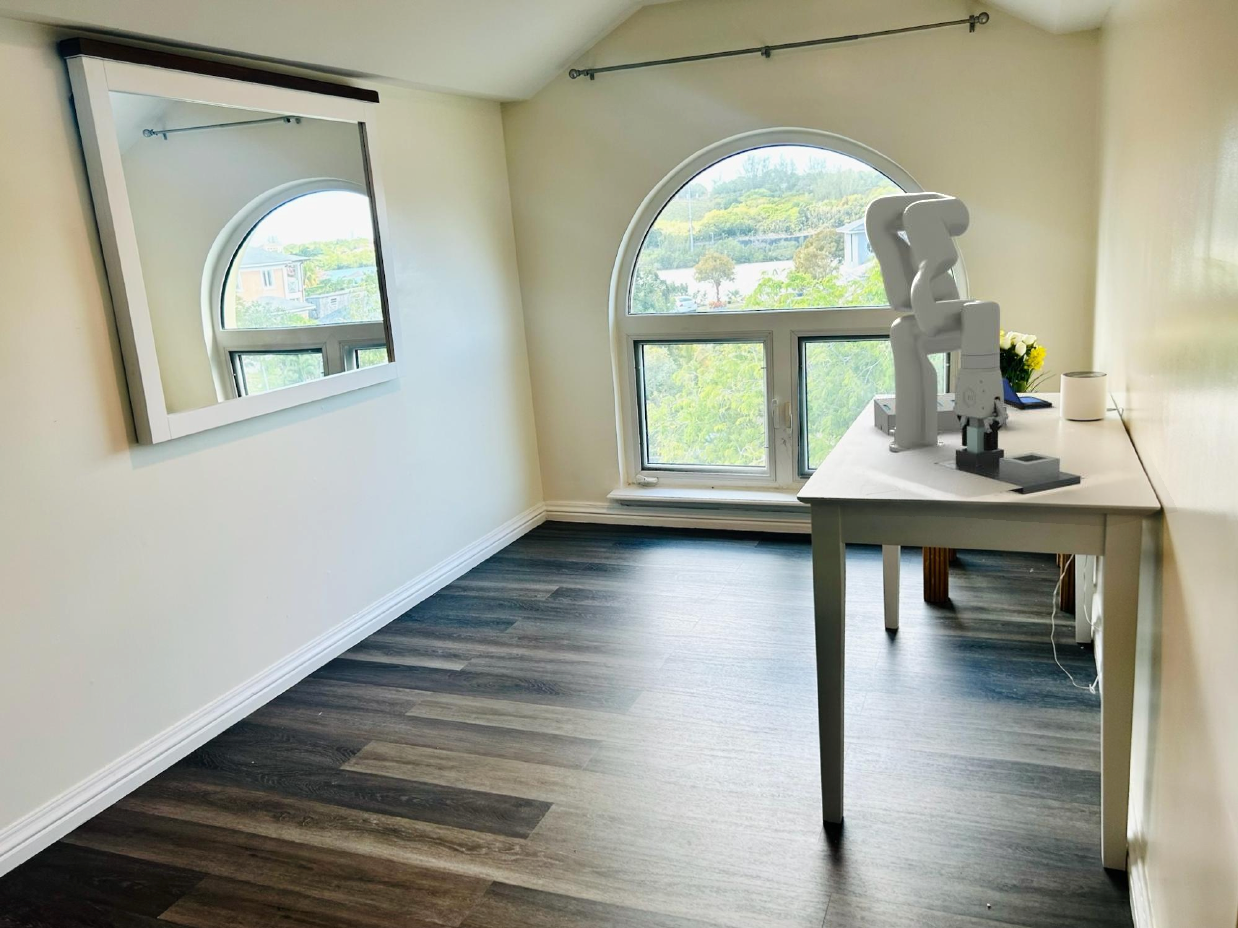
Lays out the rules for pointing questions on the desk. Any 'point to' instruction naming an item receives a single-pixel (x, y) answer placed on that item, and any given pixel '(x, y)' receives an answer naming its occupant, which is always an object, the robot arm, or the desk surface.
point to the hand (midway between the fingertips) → (979, 447)
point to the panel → (1014, 469)
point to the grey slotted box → (946, 415)
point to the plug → (976, 435)
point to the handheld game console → (1021, 399)
